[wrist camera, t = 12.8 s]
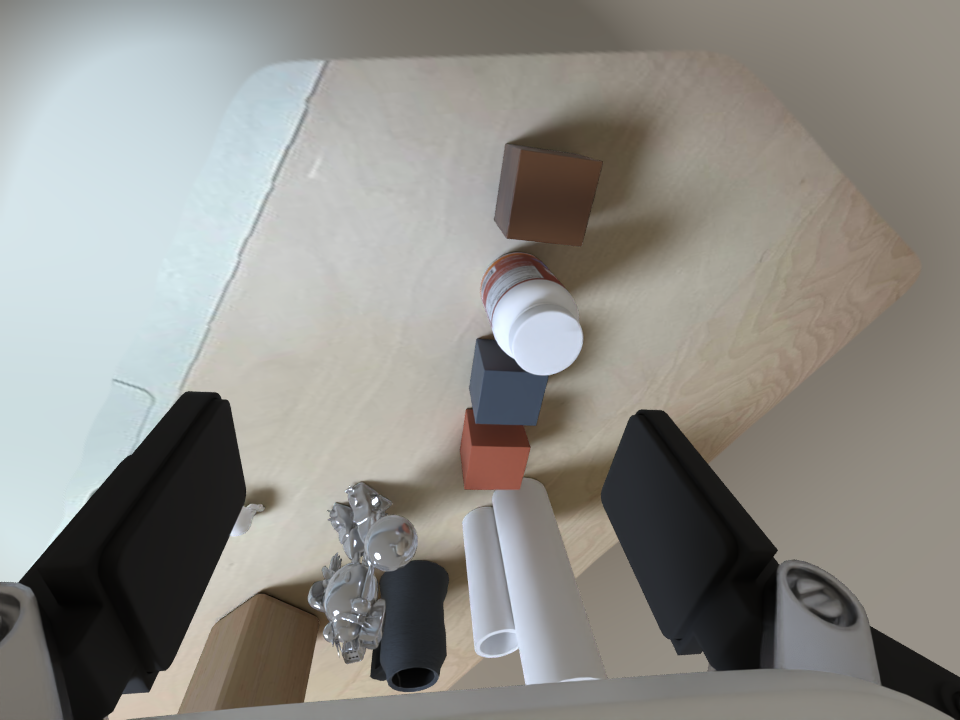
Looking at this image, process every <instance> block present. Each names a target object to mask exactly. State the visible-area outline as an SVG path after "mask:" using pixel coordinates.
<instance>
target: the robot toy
mask: <svg viewBox="0 0 960 720" xmlns="http://www.w3.org/2000/svg"><path fill="white" fill-rule="evenodd" d="M349 486H350V485H349ZM345 492H346V493H347V494H348V500H349V503H350V506H351V507H348V506H345V505H341V504H338V503H335V504H334V506H333V509H332V511H330V510H327V511H328V512H330V517H331V518H329V519H328V520H329V521H331V523H332V526H333V527H334V528H335V530H336V531H337V532H338V533H339V541H340V543H341V544H343V548H344V551H345V553H346V555H347V556H348V558H349V559H350V560H352V563H349V564H346V565H344V566H343V567H341V561H342V559H340V560H339V558H340V555H339V556H338V552H337V553H336V554H335V556H333V557H332V559H331V563H330V566H329V569H328V568H327V567H326V566H324V567H323V568H322V571H323V575H324V578H325V579H324V580H323V581H317V582H315V583H314V584H313V585H312V587H311V588H310V591H309V594H308V603H309V605H310V606H311V607H312V608H314V609H316V610H318V611H321V612H324V613H325V615H326V617H327V619H328V620H329V623H328V624H327V625H326V626H325V628H324V631H323V636H324V639H325V640H326V641H328V642H332V645H334V642H335V645H336V647H337V650H338V645H339V647H340V644H339V641H340V642H342V643H343V648H342V651H341V652H342V656H343V658H344V661H345V663H346V664H350V663H354V662H358V661H362V660H363V658H364V654H365V651H366V648H367V649H371V650H372V649H375V648H377V647H378V645H379V643H380V641H381V639H382V636H383V632H384V626H385V620H386V602H385V599H381V598H380V599H378V600H377V597H378V581H377V579H376V577H375V575H374V569H375V568H377V569H379V570H381V571H387V572H393V571H396V570H399V569H402V568H403V567H404V566H406V565H407V564H408V563H409V562H410V561H411V560H412V558H413V557H414V555H415V553H416V550H417V546H418V536H417V532H416V529H415V527H414V526H413V524H412V523H411V522H410V521H409V520H408V519H406V518H405V517H403V516H400V515H394V514H393V515H388V514H387V513H386V514H385V511H386V510H387V509H388V508H389V507H390V506H391V505H392V502H391V501H390V500H388V499H386V498H385V497H383V496H382V495H380V494H378V493H377V492H376V491H375V490H373V489H372V488H370V487H369V486H367V485H366V484H364V483H362V482H360V483H358V484H356V485H355V486H353V487H352V486H350V488H349V489H347V490H346V491H345ZM375 496H376V497H375ZM373 497H375V498H374V499H373V500H371V498H373ZM337 556H338V557H337ZM362 556H363V560H362V563H360V557H362ZM340 650H341V647H340ZM338 654H339V650H338ZM339 658H340V657H339Z"/></svg>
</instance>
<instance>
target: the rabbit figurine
mask: <svg viewBox="0 0 960 720" xmlns="http://www.w3.org/2000/svg"><path fill="white" fill-rule="evenodd" d="M253 509H254V510H253ZM264 509H265V507H263V505H262V504H258V505H256V504H249V505H248V506H247V507H244V506H243V507H242V510H241V512H240V514H239V516H238V519H237V521H236V523H235V525H234V527H233V530H232V532H231V534H230V536H239V535H242V534H244V533H246V532H247V531H248V530H249V528H250V526H251V523H252V518H253V516H254V515H255V514H256V511H258V512H262V511H263V510H264Z"/></svg>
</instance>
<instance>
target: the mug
mask: <svg viewBox="0 0 960 720" xmlns="http://www.w3.org/2000/svg"><path fill="white" fill-rule="evenodd" d="M448 584H449V577H448V573H447V572H446V570H445V569H444V568H443V567H441V566H439V565H438V564H436V563H432V562H429V561H419V560H414V561H410V562H409V563H408V564H407V565H406V566H404V567H403V568H402V569H399V570H396V571H393V572H387V571H385V573H384V574H383V575H382V576H381V579H380V583H379V585H380V592H381V598H382V599H385V602H386V620H385V626H384V632H383V636H382V639H381V641H380V643H379V645H378V647H377V648H375V649H373V653H372V663H371V675H370V677H371V678H372V679H376V680H380V681H384V680H386V679H387V682H388V685H389V686H390V687H391V688H392V689H394V690H397V691H401V692H415V691H421V690H424V689H427V688H429V687H431V686H433V685H434V684H435V683H436V682H437V680H438V678H439V675H440V668H441V666H442V664H443V662H444V660H445V658H446V656H447V652H446V632H445V625H444V609H443V602H444V600H445V597H446V594H447V590H448Z"/></svg>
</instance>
